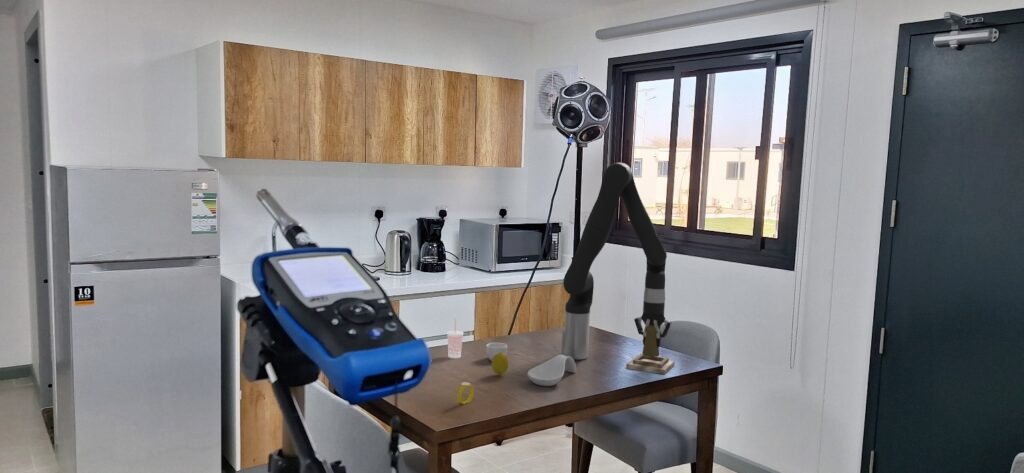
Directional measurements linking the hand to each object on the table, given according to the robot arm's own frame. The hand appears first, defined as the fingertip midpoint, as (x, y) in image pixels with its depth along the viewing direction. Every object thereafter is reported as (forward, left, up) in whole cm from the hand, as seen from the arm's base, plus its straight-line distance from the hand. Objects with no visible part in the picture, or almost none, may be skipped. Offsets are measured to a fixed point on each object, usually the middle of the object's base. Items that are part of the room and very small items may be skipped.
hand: (651, 346), depth 253 cm
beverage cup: (-66, -28, -7) cm, 72 cm away
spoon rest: (-24, -34, -8) cm, 42 cm away
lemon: (-41, -40, -7) cm, 58 cm away
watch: (-37, -70, -7) cm, 79 cm away
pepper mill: (0, 0, -3) cm, 3 cm away
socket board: (0, 0, -7) cm, 7 cm away
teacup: (-51, -22, -7) cm, 56 cm away
